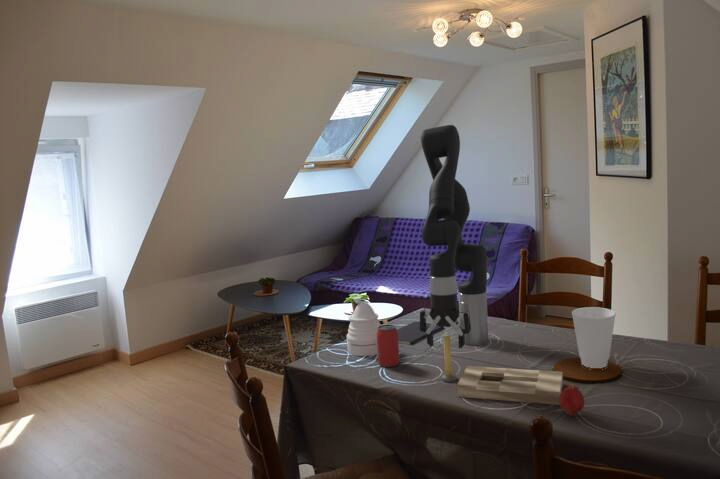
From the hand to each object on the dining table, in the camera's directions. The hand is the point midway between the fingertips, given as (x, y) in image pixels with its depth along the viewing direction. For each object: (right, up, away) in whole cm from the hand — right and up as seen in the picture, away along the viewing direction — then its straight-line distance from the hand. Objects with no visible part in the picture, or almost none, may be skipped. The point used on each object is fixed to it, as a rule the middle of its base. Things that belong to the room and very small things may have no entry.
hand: (445, 346), depth 175 cm
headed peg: (+1, -10, +2) cm, 10 cm away
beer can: (-15, -9, +17) cm, 25 cm away
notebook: (-5, -4, +46) cm, 47 cm away
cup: (+44, -6, +4) cm, 44 cm away
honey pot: (-22, -7, +33) cm, 40 cm away
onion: (+27, -12, -26) cm, 40 cm away
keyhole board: (+16, -10, -9) cm, 21 cm away
